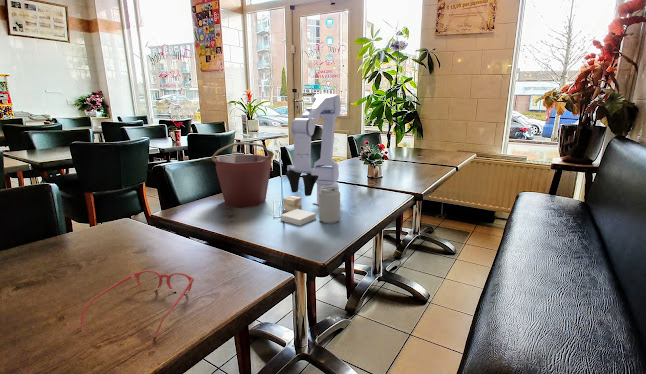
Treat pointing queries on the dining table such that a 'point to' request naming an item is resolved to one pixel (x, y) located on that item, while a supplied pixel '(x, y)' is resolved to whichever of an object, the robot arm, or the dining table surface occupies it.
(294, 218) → the coaster
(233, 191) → the bucket
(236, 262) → the dining table surface
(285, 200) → the cube
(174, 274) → the red eyeglasses
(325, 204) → the can
